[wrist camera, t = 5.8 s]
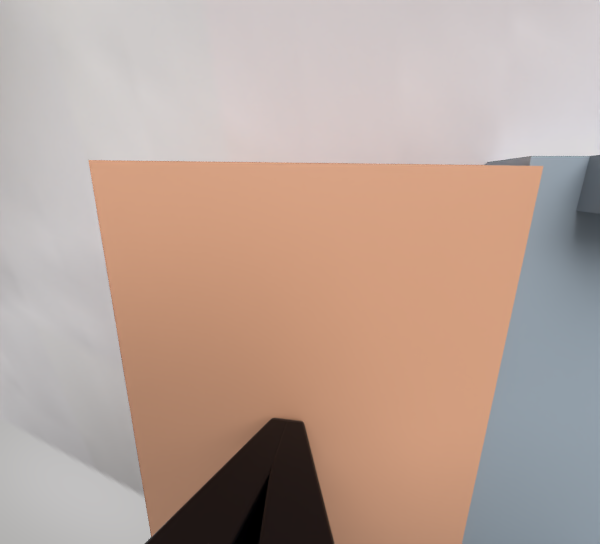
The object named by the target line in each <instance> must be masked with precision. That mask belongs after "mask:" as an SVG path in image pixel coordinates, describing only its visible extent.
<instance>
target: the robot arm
mask: <svg viewBox="0 0 600 544" xmlns="http://www.w3.org/2000/svg"><path fill="white" fill-rule="evenodd" d="M145 544H335V543H334V539H333V535H332V531H331V527H330V523H329V519H328V515H327V511H326V507H325V503H324V499H323V495H322V491H321V487H320V483H319V479H318V475H317V471H316V467H315V464H314V460H313V456H312V452H311V448H310V444H309V440H308V436H307V432H306V428H305V424H304V422H303V421H299V420H291V419H283V418H272V419H270V420H269V421H268V422H267V423H266V424H265V425H264V426H263V427H262V428H261V429H260V430H259V431H258V432H257V433H256V434H255V435H254V436H253V437H252V438H251V439H250V440H249V441H248V442H247V443H246V444H245V445H244V446H243V447H242V448H241V449H240V450H239V451H238V452H237V453H236V454H235V455H234V456H233V457H232V458H231V459H230V460H229V461H228V462H227V463H226V464H225V465H224V466H223V467H222V468H221V469H220V470H219V471H218V472H217V473H216V474H215V475H214V476H213V477H212V478H211V479H210V480H209V481H208V482H207V483H206V484H204V485H203V486H202V487H201V488H200V489H199V490H198V491H197V492H196V493H195V494H194V495H193V496H192V497H191V498H190V499H189V500H188V501H187V502H186V503H185V504H184V505H183V506H182V507H181V508H180V509H179V510H178V511H177V512H176V513H175V514H174V515H173V516H172V517H171V518H170V519H169V520H168V521H167V522H166V523H165V524H164V525H163V526H162V527H161V528H160V529H159V530H158V531H157V532H156V533H155V534H154V535H153V536H152V537H151V538H150V539H149V540H148V541H147V542H146V543H145Z"/></svg>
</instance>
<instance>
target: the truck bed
mask: <svg viewBox="0 0 600 544" xmlns="http://www.w3.org/2000/svg"><path fill="white" fill-rule="evenodd" d="M486 165H510V166H543V171H542V175H541V180H540V185H539V189H538V194H537V198H536V203H535V208H534V212H533V217H532V222H531V226H530V231H529V235H528V240H527V245H526V249H525V254H524V259H523V263H522V268H521V272H520V277H519V282H518V286H517V291H516V296H515V300H514V305H513V309H512V314H511V319H510V323H509V328H508V333H507V337H506V342H505V346H504V351H503V356H502V360H501V365H500V370H499V374H498V379H497V383H496V388H495V393H494V397H493V402H492V407H491V411H490V416H489V420H488V425H487V430H486V434H485V439H484V444H483V448H482V453H481V457H480V462H479V467H478V471H477V476H476V481H475V485H474V490H473V494H472V499H471V504H470V508H469V513H468V518H467V522H466V527H465V531H464V536H463V541H462V544H600V155H596V156H529V157H522V158H515V159H507V160H500V161H493V162H487V164H486Z"/></svg>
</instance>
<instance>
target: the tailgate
mask: <svg viewBox="0 0 600 544" xmlns="http://www.w3.org/2000/svg"><path fill="white" fill-rule="evenodd" d="M89 165H90V171H91V177H92V183H93V189H94V196H95V202H96V208H97V214H98V220H99V226H100V232H101V238H102V244H103V250H104V256H105V262H106V268H107V274H108V280H109V286H110V292H111V298H112V304H113V310H114V316H115V322H116V328H117V334H118V340H119V346H120V352H121V358H122V364H123V370H124V376H125V382H126V388H127V394H128V400H129V406H130V412H131V418H132V424H133V430H134V436H135V442H136V448H137V454H138V460H139V466H140V472H141V478H142V484H143V490H144V496H145V502H146V508H147V513H148V519H149V526H150V531H151V537H152V536H153V535H154V534H155V533H156V532H157V531H158V530H159V529H160V528H161V527H162V526H163V525H164V524H165V523H166V522H167V521H168V520H169V519H170V518H171V517H172V516H173V515H174V514H175V513H176V512H177V511H178V510H179V509H180V508H181V507H182V506H183V505H184V504H185V503H186V502H187V501H188V500H189V499H190V498H191V497H192V496H193V495H194V494H195V493H196V492H197V491H198V490H199V489H200V488H201V487H202V486H203V485H204V484H206V483H207V482H208V481H209V480H210V479H211V478H212V477H213V476H214V475H215V474H216V473H217V472H218V471H219V470H220V469H221V468H222V467H223V466H224V465H225V464H226V463H227V462H228V461H229V460H230V459H231V458H232V457H233V456H234V455H235V454H236V453H237V452H238V451H239V450H240V449H241V448H242V447H243V446H244V445H245V444H246V443H247V442H248V441H249V440H250V439H251V438H252V437H253V436H254V435H255V434H256V433H257V432H258V431H259V430H260V429H261V428H262V427H263V426H264V425H265V424H266V423H267V422H268V421H269V420H270V419H272V418H283V419H291V420H299V421H303V422H304V424H305V428H306V432H307V436H308V440H309V444H310V448H311V452H312V456H313V460H314V464H315V467H316V471H317V475H318V479H319V483H320V487H321V491H322V495H323V499H324V503H325V507H326V511H327V515H328V519H329V523H330V527H331V531H332V535H333V539H334V543H335V544H462V541H463V536H464V531H465V527H466V522H467V518H468V513H469V508H470V504H471V499H472V494H473V490H474V485H475V481H476V476H477V471H478V467H479V462H480V457H481V453H482V448H483V444H484V439H485V434H486V430H487V425H488V420H489V416H490V411H491V407H492V402H493V397H494V393H495V388H496V383H497V379H498V374H499V370H500V365H501V360H502V356H503V351H504V346H505V342H506V337H507V333H508V328H509V323H510V319H511V314H512V309H513V305H514V300H515V296H516V291H517V286H518V282H519V277H520V272H521V268H522V263H523V259H524V254H525V249H526V245H527V240H528V235H529V231H530V226H531V222H532V217H533V212H534V208H535V203H536V198H537V194H538V189H539V185H540V180H541V175H542V171H543V166H510V165H429V164H348V163H267V162H186V161H105V160H89Z"/></svg>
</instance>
